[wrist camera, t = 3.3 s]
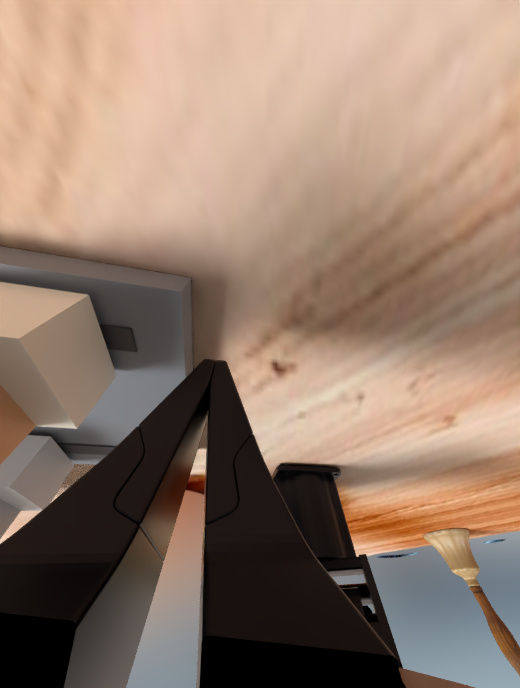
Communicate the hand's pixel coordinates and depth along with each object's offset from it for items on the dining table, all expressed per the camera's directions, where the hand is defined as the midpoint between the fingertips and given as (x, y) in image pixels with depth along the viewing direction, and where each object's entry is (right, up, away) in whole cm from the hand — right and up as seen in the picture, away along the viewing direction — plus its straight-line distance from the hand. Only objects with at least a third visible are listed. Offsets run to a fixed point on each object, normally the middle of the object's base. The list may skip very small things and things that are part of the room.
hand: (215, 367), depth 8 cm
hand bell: (+40, -38, +34) cm, 65 cm away
